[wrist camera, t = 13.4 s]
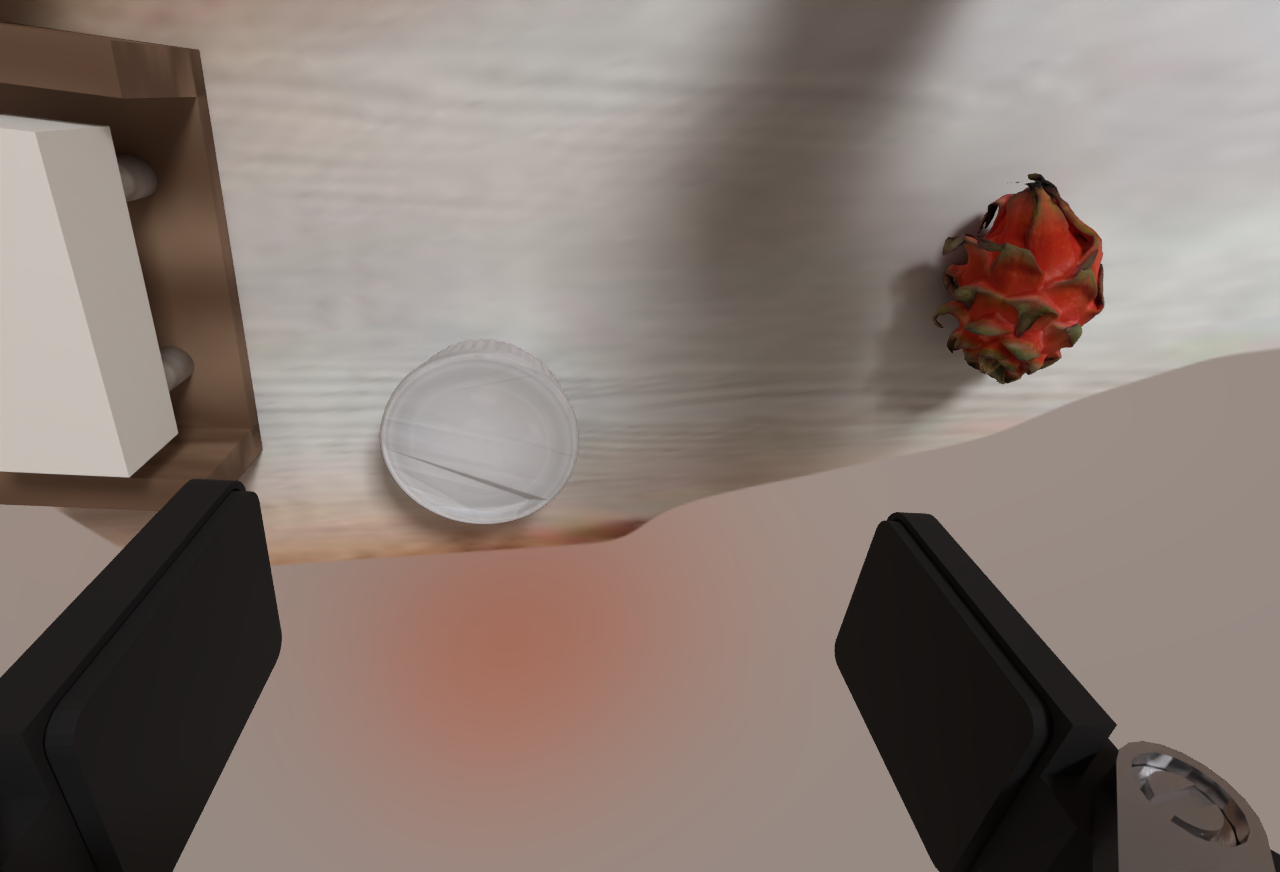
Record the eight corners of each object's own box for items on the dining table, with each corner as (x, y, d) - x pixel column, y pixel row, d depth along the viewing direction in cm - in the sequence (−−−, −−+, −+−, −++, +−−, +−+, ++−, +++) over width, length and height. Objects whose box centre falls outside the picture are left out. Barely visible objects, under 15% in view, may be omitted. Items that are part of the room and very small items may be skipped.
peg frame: (-41, 15, 29) (-200, -4, 23) (199, 49, 31) (110, 40, 25) (86, 439, 39) (-1, 504, 33) (262, 449, 41) (210, 512, 35)
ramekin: (425, 492, 44) (409, 539, 39) (375, 337, 39) (350, 371, 34) (588, 467, 44) (592, 511, 40) (561, 311, 39) (561, 341, 34)
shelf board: (-52, 106, 27) (-157, 109, 23) (109, 126, 28) (34, 132, 24) (52, 426, 34) (-15, 470, 30) (178, 433, 35) (129, 477, 31)
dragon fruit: (937, 362, 45) (959, 178, 41) (1083, 373, 41) (1123, 169, 37) (918, 395, 38) (942, 177, 34) (1091, 411, 34) (1141, 167, 30)
